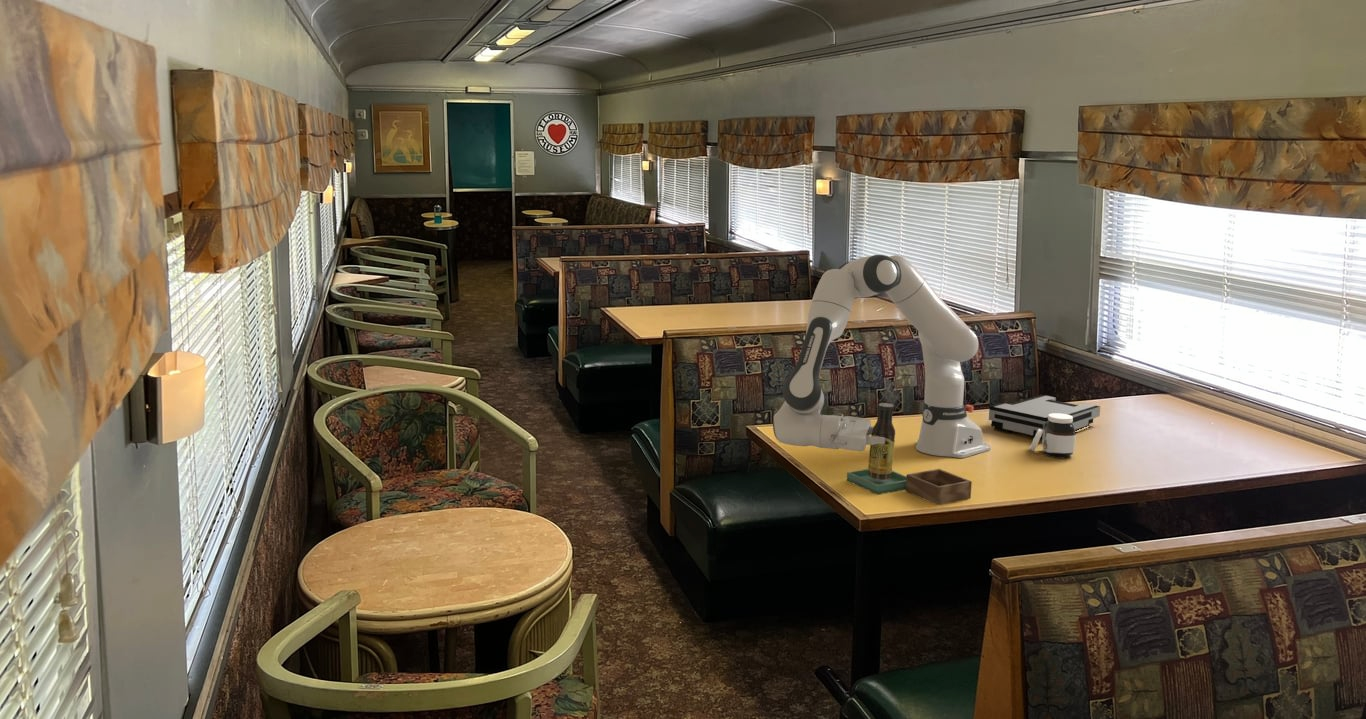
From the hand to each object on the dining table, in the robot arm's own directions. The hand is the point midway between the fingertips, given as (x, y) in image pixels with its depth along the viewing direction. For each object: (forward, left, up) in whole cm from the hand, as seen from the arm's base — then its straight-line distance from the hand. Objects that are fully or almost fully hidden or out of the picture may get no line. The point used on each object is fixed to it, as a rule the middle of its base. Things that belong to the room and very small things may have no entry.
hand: (885, 436), depth 282 cm
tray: (+1, -1, -13) cm, 13 cm away
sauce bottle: (+1, -1, -11) cm, 12 cm away
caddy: (-7, +13, -13) cm, 20 cm away
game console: (-84, -23, -14) cm, 88 cm away
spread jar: (-63, -1, -13) cm, 65 cm away
